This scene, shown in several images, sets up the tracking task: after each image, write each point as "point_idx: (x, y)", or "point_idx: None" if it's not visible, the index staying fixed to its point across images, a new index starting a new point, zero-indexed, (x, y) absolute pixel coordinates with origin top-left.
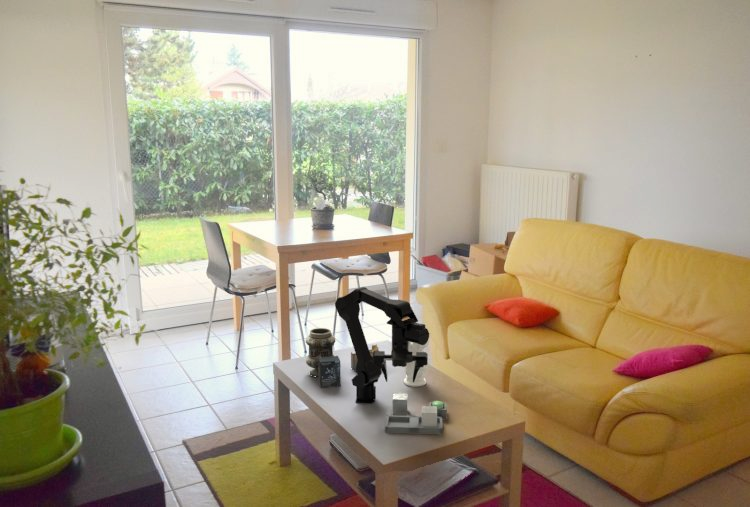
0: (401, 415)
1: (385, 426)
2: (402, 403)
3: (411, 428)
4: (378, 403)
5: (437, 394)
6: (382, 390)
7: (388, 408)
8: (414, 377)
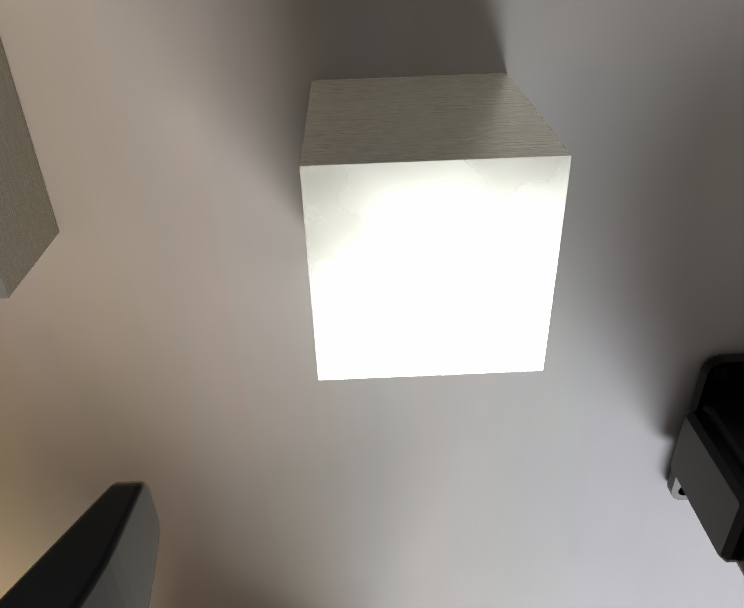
0: (387, 77)
1: None
2: (383, 136)
3: None
4: (648, 359)
5: None
6: (579, 577)
7: None
8: (39, 596)
